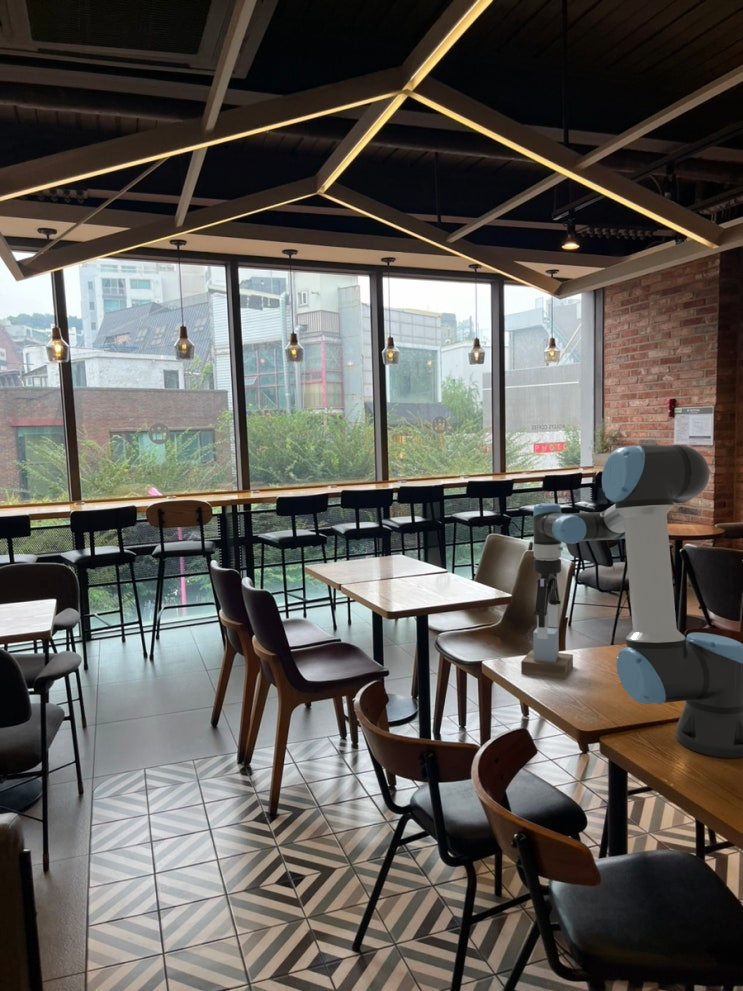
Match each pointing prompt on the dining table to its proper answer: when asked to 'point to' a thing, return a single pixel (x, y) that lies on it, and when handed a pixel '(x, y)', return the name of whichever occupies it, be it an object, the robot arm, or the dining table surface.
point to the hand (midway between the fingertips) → (547, 632)
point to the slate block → (546, 646)
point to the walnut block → (547, 666)
